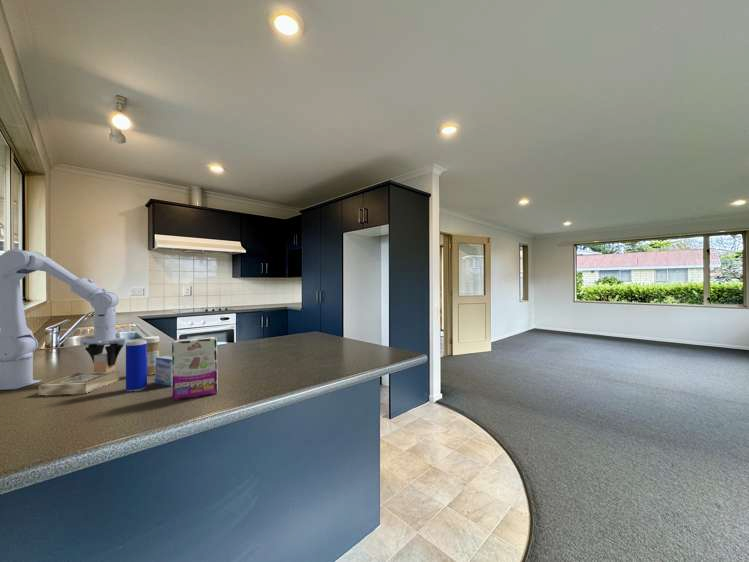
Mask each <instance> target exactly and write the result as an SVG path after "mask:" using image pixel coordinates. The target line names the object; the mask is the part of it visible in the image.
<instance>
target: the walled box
mask: <svg viewBox="0 0 749 562" xmlns="http://www.w3.org/2000/svg"><path fill="white" fill-rule="evenodd" d="M79 375H103V377H101V378H98V379H95V380H93V381H90V382H87V383H75V384H59V382H61V381H64V380H67V379H70V378H73V377H76V376H79ZM117 380H119V381H120V371H119V370H118V371H109V372H94V371H93V372H91V371H89V372H76V373H73V374H69V375H67V376H64V377H61V378H58V379H55V380H52V381H48V382H45V383H43V384H38V389H37V390H38V396H39V395H45V396H62V395H61V394H71V395H86V394H85V393H87V394H89V393H88V392H90V393H92V392H94V391H96V390H95V389H97V390H99V389H101V387H102V388H104V387H106V386H108V384H109V385H111V384H114V383H116V382H118V381H117ZM115 381H116V382H115ZM113 382H114V383H113ZM110 383H111V384H110ZM105 385H106V386H105ZM103 386H104V387H103ZM98 388H99V389H98ZM93 390H94V391H93ZM91 391H92V392H91ZM39 397H40V396H39Z"/></svg>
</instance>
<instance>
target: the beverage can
mask: <svg viewBox="0 0 749 562" xmlns="http://www.w3.org/2000/svg"><path fill="white" fill-rule="evenodd" d="M147 386H148V375H147V342H146V340H144V339H135V340H134V339H133V340H132V339H131V340H129V341H127V343H126V345H125V390H126V391H127V392H128V391H129V392H128V393H131V392H130V391H135V392H139V390H140V391H143V390H145V389H146V388H147ZM142 389H143V390H142Z"/></svg>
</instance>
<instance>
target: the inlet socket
mask: <svg viewBox="0 0 749 562" xmlns="http://www.w3.org/2000/svg"><path fill="white" fill-rule="evenodd" d="M101 377H103V375H79V376H76V377H73V378H70V379H67V380H64V381H61V382H59V384H75V383H87V382H90V381H93V380H95V379H98V378H101Z"/></svg>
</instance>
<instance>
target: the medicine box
mask: <svg viewBox="0 0 749 562" xmlns="http://www.w3.org/2000/svg"><path fill="white" fill-rule="evenodd" d="M172 373H173V371H172V355H168V354H167V355H162V356H159V357H157V358H156V374H155V375H154V376H155V377H154V379H155V382H154V383H155V384H156V385H158V384H161V385H160V386H165V385H166V387H171V386H172V387H173V374H172Z"/></svg>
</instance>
